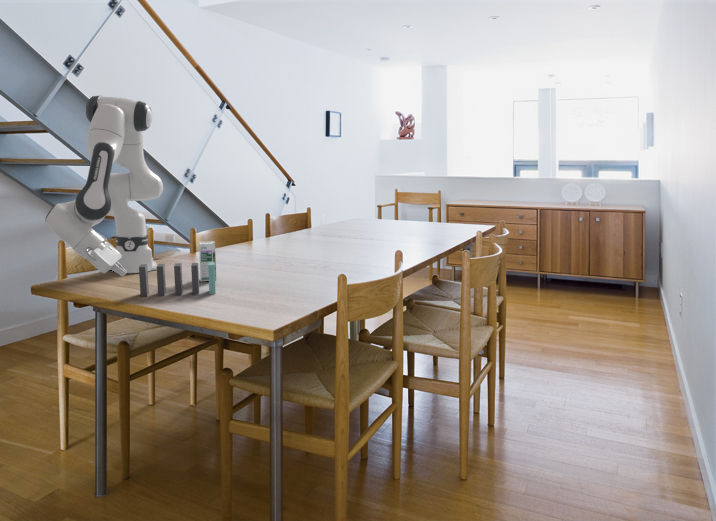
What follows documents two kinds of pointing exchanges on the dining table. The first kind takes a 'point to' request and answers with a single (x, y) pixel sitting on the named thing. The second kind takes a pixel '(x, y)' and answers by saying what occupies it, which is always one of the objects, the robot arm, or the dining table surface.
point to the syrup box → (206, 259)
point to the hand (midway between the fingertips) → (125, 274)
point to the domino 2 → (161, 279)
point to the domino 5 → (212, 278)
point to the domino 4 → (195, 278)
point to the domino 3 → (178, 278)
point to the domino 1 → (143, 280)
